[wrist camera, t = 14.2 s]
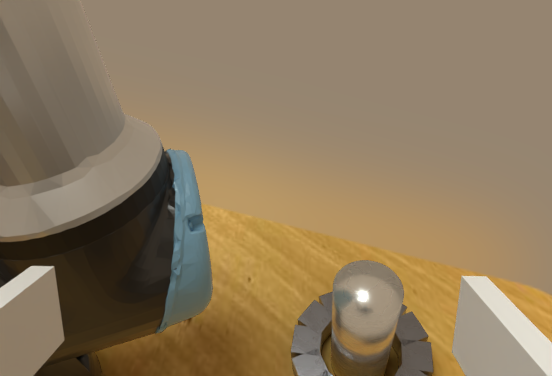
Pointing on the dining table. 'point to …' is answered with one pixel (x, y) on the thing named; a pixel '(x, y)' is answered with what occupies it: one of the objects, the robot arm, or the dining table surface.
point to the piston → (364, 318)
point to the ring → (318, 326)
